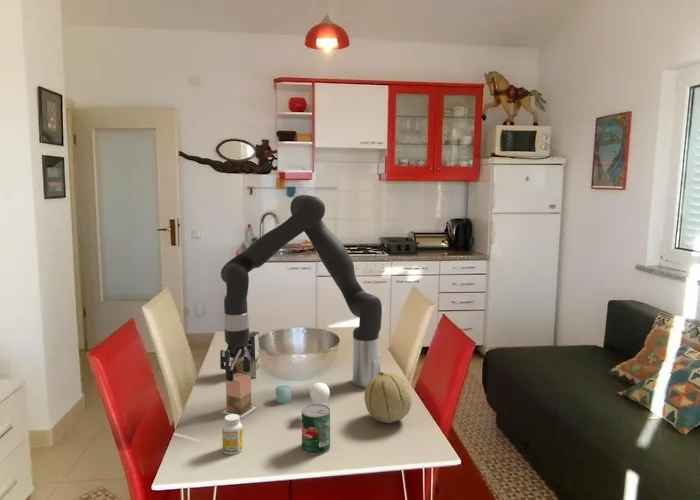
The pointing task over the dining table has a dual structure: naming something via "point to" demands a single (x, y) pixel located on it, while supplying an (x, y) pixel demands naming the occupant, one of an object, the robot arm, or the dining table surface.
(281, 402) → the mint green capsule
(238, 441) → the supplement bottle
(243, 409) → the walnut block
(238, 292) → the robot arm
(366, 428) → the dining table surface
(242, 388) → the terracotta block
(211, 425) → the dining table surface
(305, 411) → the canned tomato
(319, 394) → the lightbulb
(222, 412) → the mat
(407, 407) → the cantaloupe
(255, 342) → the coffee box
